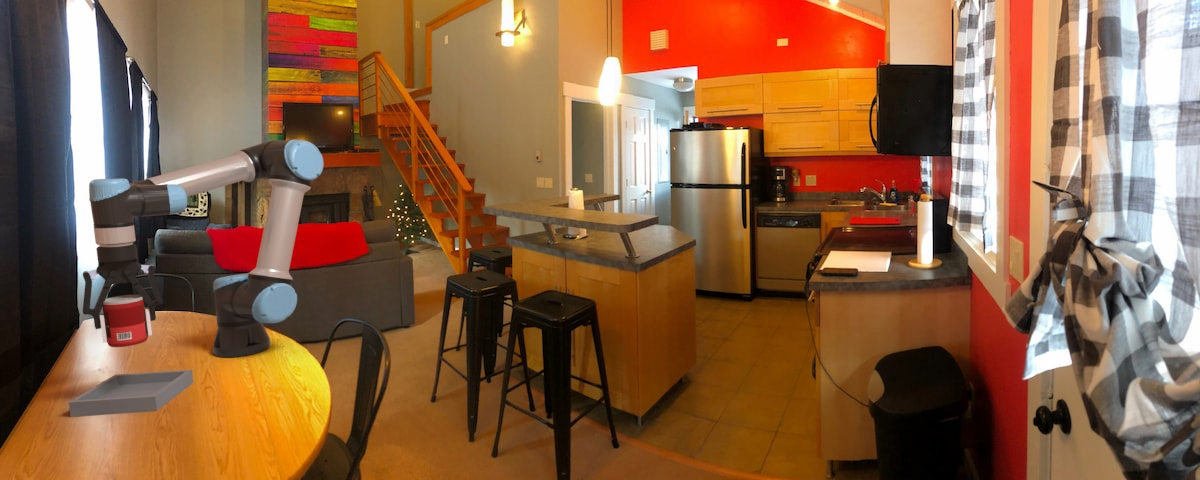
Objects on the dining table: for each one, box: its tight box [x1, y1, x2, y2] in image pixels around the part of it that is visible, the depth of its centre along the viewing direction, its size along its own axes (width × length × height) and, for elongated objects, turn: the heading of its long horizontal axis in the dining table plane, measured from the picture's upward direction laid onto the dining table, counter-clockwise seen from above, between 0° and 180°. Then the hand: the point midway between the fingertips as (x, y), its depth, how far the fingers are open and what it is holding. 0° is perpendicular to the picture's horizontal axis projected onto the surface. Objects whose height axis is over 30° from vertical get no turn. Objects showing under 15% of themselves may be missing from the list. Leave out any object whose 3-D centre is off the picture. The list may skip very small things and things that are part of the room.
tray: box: [68, 369, 194, 418], centre depth 153 cm, size 18×18×4 cm
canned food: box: [102, 294, 149, 348], centre depth 151 cm, size 8×8×11 cm
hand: (127, 337), depth 151 cm, fingers closed on canned food, 8 cm apart
